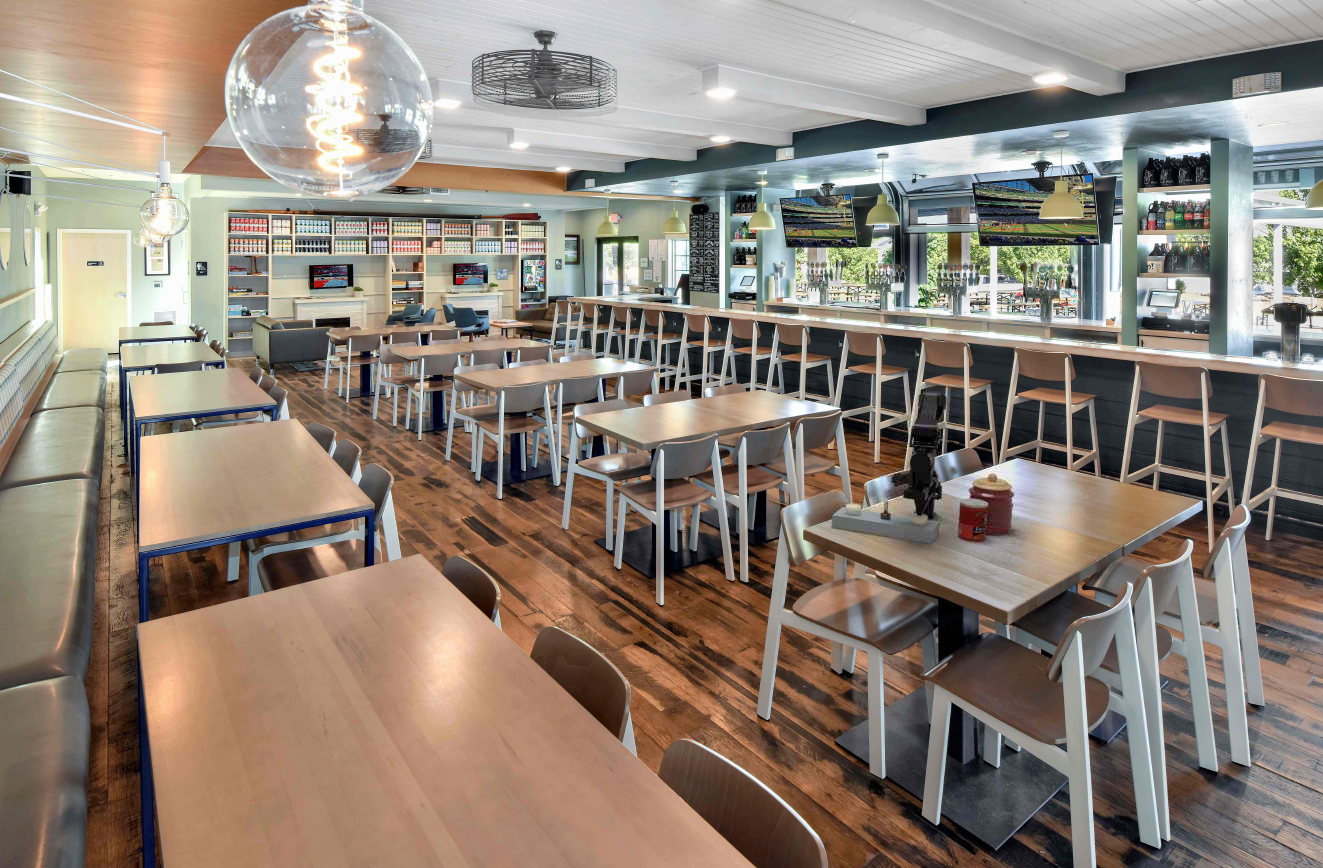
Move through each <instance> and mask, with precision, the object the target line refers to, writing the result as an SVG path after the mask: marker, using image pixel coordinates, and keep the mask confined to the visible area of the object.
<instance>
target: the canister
mask: <svg viewBox="0 0 1323 868" xmlns="http://www.w3.org/2000/svg"><path fill="white" fill-rule="evenodd" d="M971 482H972V483H971V484H972V487H969V488H968V492H969V498H968V499H979V500H983V501H985V502H987V503H988V518H987V529H986V535H990V536H991V535H992V536H1002V535H1007V534H1009V533H1010V532H1011V529H1012V524H1013V523H1012V517H1013V509H1014V508H1013V507H1014V503H1013V498H1014V497H1015V493H1014V492H1013V491H1012V490H1011V489H1013V485H1011V484H1010V483H1009V482H1008V481H1007V480H1005V479H1002V478H998V475H997V474H995V473H993V472H991V473H989V474H988V476H987V477H979V478H977V479H975V480H973V481H971Z"/></svg>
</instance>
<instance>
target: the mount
mask: <svg viewBox="0 0 1323 868" xmlns="http://www.w3.org/2000/svg"><path fill="white" fill-rule="evenodd" d="M881 513H882V512H877V511H871V510H864V509H861V514H860V515H857V516H856V515H849V514H846V506H842V507H841V508H839V509H838V510H836V512H834V513H833V514H832V516H831V519H832V520H831V528H833V529H838V528H839V530H844V529H845V530H846V531H850V532H856V533H863V534H869V535H876V536H880V537H881V536H882V537H888V538H893V539H898V540H904V541H905V540H906V541H911V542H917V543H921V544H922V543H923V544H928V545H932V544H933V543H934V541H936V539H937V538H938V536H939V535H940V523H941V521H938V520H933V519H927V525H924V526H918V525H914V524H911V516H905V515H897V514H891V513H890V514H891V518H890V520H883V519H881V518H880V514H881Z"/></svg>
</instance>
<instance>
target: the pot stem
mask: <svg viewBox="0 0 1323 868" xmlns="http://www.w3.org/2000/svg"><path fill="white" fill-rule="evenodd" d="M883 502H884V503H883V511H882V512H880V513H881V514H880V518H881V519H883V520H890V518H891V513H890V512H889V500H884V501H883Z"/></svg>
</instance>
